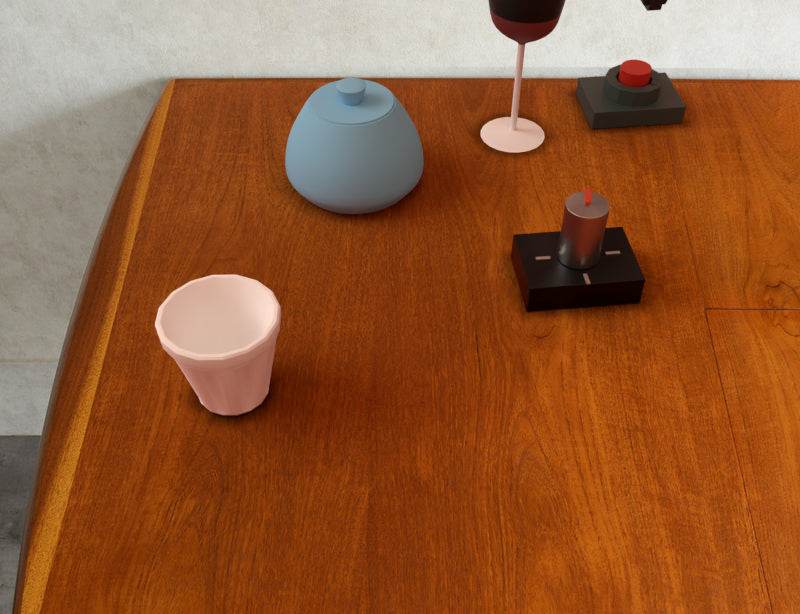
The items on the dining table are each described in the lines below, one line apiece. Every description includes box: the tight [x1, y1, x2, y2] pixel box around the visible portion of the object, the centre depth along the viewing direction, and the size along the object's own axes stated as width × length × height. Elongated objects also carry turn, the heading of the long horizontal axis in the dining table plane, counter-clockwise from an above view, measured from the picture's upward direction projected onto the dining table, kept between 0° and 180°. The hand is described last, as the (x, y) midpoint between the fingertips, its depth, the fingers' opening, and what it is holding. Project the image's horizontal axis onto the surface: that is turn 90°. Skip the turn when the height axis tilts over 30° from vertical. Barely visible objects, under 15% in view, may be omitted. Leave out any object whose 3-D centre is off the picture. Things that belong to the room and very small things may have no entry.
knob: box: [557, 188, 611, 269], centre depth 83 cm, size 4×4×6 cm
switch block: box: [575, 63, 687, 130], centre depth 107 cm, size 11×8×4 cm
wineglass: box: [480, 0, 566, 154], centre depth 97 cm, size 8×9×20 cm
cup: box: [154, 273, 282, 417], centre depth 75 cm, size 10×10×9 cm
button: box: [618, 59, 653, 87], centre depth 105 cm, size 4×4×2 cm
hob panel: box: [510, 226, 646, 313], centre depth 87 cm, size 11×8×3 cm
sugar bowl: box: [284, 77, 425, 215], centre depth 94 cm, size 15×15×12 cm
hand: (651, 7), depth 99 cm, fingers closed
